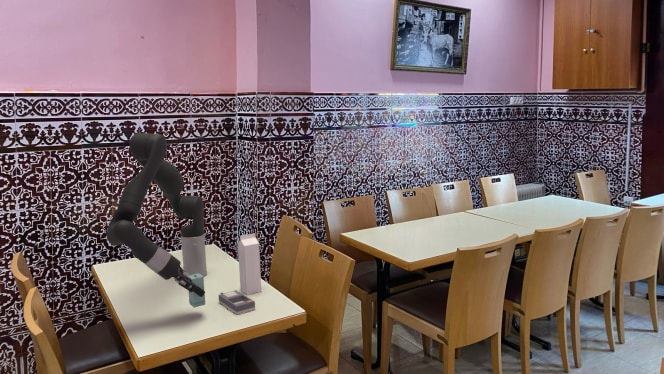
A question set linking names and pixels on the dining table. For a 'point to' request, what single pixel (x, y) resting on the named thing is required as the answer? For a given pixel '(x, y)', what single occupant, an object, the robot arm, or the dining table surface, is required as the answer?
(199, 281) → the block
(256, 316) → the dining table surface
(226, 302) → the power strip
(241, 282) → the milk
